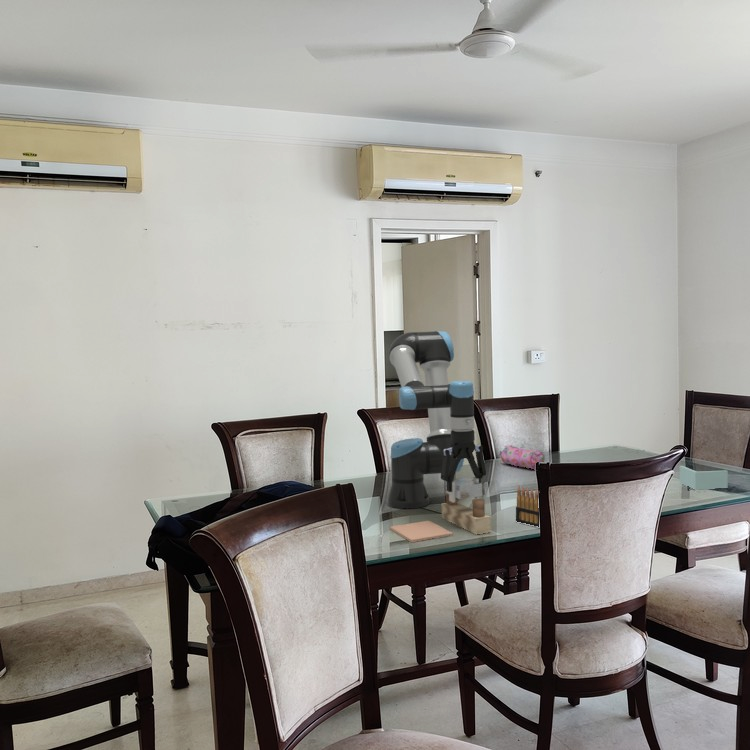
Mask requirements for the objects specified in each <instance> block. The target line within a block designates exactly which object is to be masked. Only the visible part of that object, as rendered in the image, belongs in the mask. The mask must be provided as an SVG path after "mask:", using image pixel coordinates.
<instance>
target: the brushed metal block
mask: <svg viewBox="0 0 750 750" xmlns="http://www.w3.org/2000/svg"><path fill="white" fill-rule="evenodd" d="M453 482H455V497H457V498H458V499H459V500H463V499H470V498H474V497H478V496H479V497H482V496H483V483H482V482H481V483H480V482H477V481H474V480H472V478H469V477H463V478H462V477H461V478H457V479H453ZM446 493H448V494H449V492H448V491H447V483H446V482H445V494H446Z"/></svg>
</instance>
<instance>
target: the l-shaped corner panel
mask: <svg viewBox="0 0 750 750" xmlns="http://www.w3.org/2000/svg"><path fill="white" fill-rule="evenodd" d="M728 473H729V472H728V470H727V469H726V470H706V471H697V470H693V469H691V468H689V467H687V466H684V465H679V484H680V483H682V484H684V485H686V486H689V487H691V488H693V489H695V490H699V489H715V488H728V487H729V485H728V480H729V479H728V477H729V474H728Z"/></svg>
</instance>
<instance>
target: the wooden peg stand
mask: <svg viewBox="0 0 750 750" xmlns="http://www.w3.org/2000/svg"><path fill="white" fill-rule="evenodd" d="M458 499H459V498H457V497H455V502H454V503H453V502H451V501H449V494H448V493H446V492H445V502H443V503H441V517H442V518H441V519H442V520H445V519H446V520H445V521H447V522H449V523H451V522H452V524H453V525H455V524H456V526H457V525H458V526H457V527H459V526H460V527H459V528H461V527H462V528H461V529H463V528H464V529H463V530H465V529H466V530H465V531H467V530H468V531H467V532H469V531H470V532H469V533H471V532H472V533H471V534H473V533H474V535H475V534H476V535H475V536H478V535H477V534H480V535H484V534H483V533H486V534H489V533H488V532H490V533H491V516H489V515H488V514H485V499H484V498H479V499H476V498H473V499H472V501H471V502H472V507H468V506H466V505H465V504H461V503H459V501H458Z"/></svg>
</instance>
